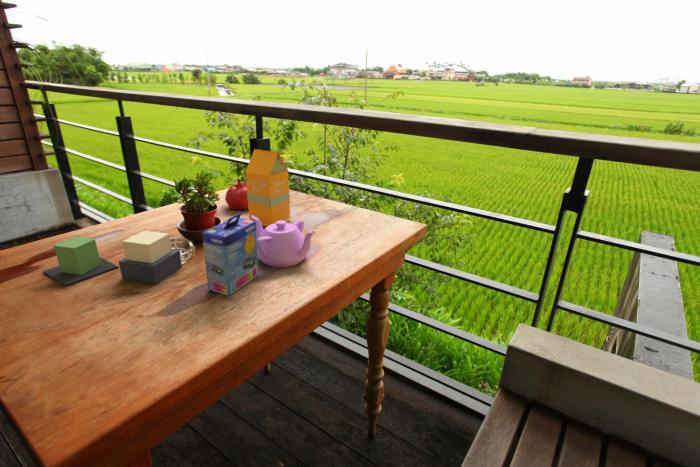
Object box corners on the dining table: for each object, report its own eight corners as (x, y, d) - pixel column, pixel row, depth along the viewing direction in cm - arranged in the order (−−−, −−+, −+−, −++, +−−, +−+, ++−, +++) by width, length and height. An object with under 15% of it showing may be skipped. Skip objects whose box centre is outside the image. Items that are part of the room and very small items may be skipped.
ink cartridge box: (230, 297, 72) (222, 224, 67) (206, 291, 74) (197, 220, 68) (260, 274, 81) (256, 208, 75) (238, 269, 82) (232, 204, 77)
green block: (61, 272, 79) (53, 245, 77) (82, 261, 84) (75, 236, 81) (81, 275, 78) (73, 248, 76) (101, 264, 83) (95, 238, 80)
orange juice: (272, 228, 105) (267, 154, 98) (248, 221, 110) (243, 150, 102) (290, 220, 112) (288, 150, 104) (268, 214, 116) (264, 146, 108)
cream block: (126, 259, 77) (122, 241, 75) (147, 247, 82) (144, 230, 81) (152, 263, 76) (148, 244, 74) (172, 251, 81) (169, 233, 80)
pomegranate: (264, 204, 124) (263, 176, 121) (245, 214, 116) (242, 183, 112) (240, 200, 128) (237, 173, 125) (219, 209, 120) (215, 179, 116)
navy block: (122, 279, 78) (118, 261, 76) (150, 262, 85) (147, 245, 83) (156, 284, 76) (153, 266, 74) (182, 266, 83) (179, 249, 82)
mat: (43, 272, 80) (42, 271, 79) (95, 256, 87) (94, 254, 87) (65, 287, 74) (64, 285, 74) (118, 267, 82) (118, 266, 82)
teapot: (253, 249, 92) (251, 214, 89) (311, 245, 95) (311, 211, 92) (251, 272, 82) (248, 233, 78) (317, 267, 84) (316, 229, 81)
